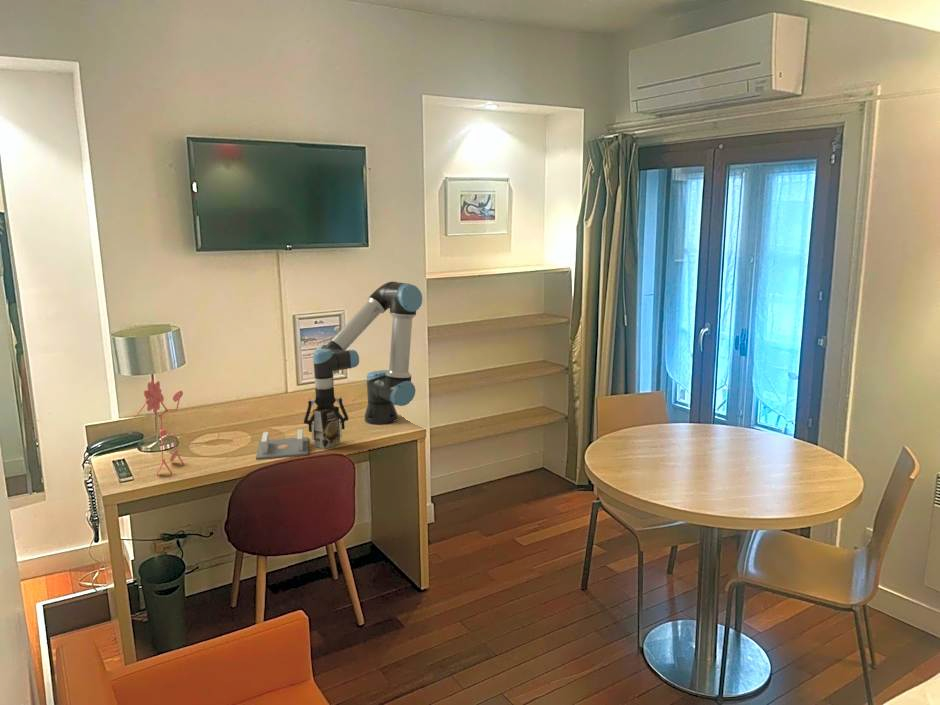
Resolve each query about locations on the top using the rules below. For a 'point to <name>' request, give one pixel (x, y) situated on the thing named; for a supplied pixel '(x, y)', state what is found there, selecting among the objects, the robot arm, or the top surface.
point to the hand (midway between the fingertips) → (327, 437)
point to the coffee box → (326, 428)
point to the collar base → (282, 446)
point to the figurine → (153, 402)
